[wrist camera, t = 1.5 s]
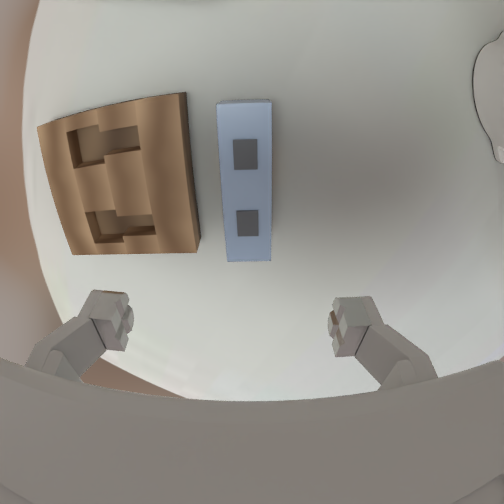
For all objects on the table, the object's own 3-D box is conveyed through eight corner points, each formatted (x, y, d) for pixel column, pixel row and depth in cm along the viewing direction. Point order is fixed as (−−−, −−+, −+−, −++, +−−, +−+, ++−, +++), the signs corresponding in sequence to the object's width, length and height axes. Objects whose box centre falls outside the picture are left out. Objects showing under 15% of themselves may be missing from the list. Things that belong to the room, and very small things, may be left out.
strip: (267, 98, 23) (271, 102, 19) (268, 232, 31) (271, 262, 26) (223, 99, 23) (215, 104, 19) (230, 232, 31) (227, 262, 27)
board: (186, 92, 23) (178, 93, 21) (200, 237, 32) (196, 252, 30) (52, 120, 23) (36, 127, 21) (83, 241, 32) (72, 254, 30)
